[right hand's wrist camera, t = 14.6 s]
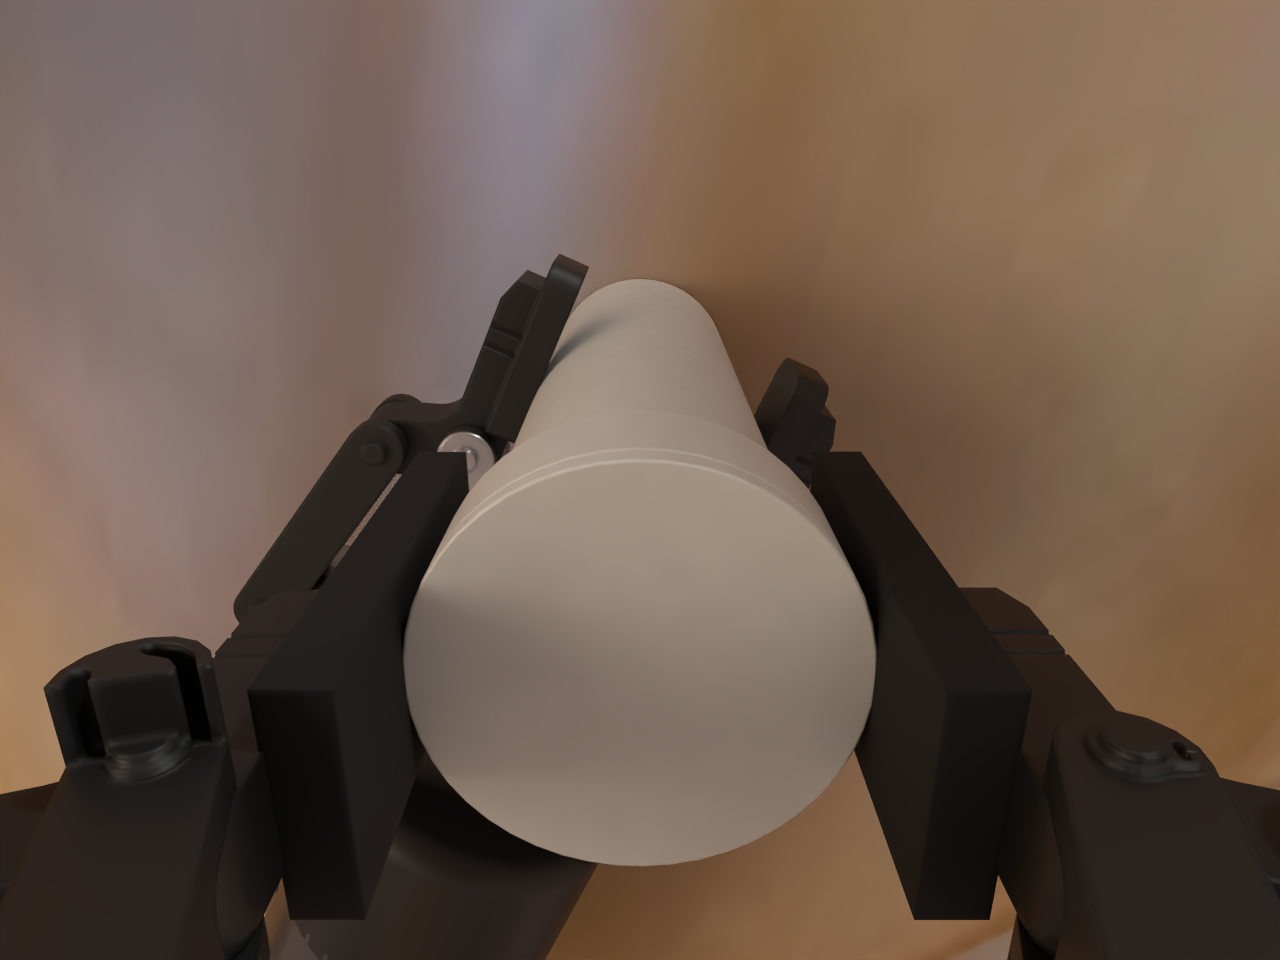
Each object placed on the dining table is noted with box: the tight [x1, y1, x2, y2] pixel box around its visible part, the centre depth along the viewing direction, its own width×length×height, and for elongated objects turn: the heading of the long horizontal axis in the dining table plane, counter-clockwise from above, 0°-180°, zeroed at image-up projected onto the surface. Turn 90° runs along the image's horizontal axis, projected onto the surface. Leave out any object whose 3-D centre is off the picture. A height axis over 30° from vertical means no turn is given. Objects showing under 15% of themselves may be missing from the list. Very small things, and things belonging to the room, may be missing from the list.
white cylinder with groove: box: [403, 410, 877, 866], centre depth 11 cm, size 6×6×2 cm
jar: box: [512, 279, 768, 450], centre depth 18 cm, size 5×5×16 cm
